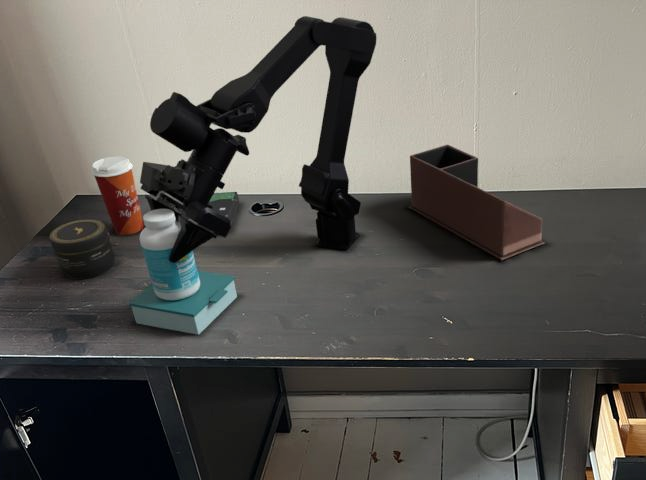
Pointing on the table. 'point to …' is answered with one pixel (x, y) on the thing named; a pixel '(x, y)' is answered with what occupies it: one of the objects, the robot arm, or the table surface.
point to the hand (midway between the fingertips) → (159, 253)
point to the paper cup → (119, 193)
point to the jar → (82, 248)
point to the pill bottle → (167, 257)
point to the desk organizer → (469, 204)
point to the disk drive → (222, 205)
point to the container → (186, 305)
